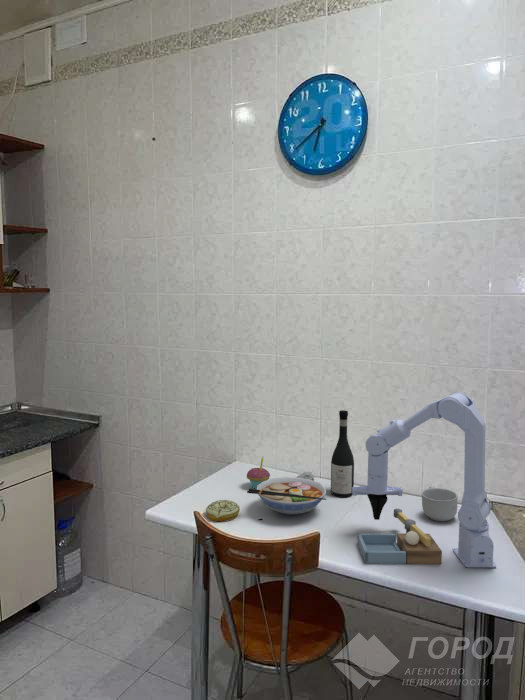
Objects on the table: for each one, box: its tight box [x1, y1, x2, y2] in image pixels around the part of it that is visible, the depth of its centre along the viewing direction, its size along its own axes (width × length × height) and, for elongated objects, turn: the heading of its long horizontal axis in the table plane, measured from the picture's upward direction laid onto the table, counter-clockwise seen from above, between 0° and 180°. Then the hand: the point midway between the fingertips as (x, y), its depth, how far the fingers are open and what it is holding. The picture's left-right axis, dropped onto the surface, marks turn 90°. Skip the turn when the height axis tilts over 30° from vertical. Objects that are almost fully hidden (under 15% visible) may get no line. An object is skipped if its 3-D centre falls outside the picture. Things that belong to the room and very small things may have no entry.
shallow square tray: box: [357, 533, 407, 565], centre depth 137 cm, size 11×11×3 cm
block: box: [396, 529, 443, 565], centre depth 138 cm, size 12×9×4 cm
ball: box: [405, 531, 419, 545], centre depth 135 cm, size 4×4×4 cm
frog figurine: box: [296, 471, 315, 481], centre depth 183 cm, size 6×7×7 cm
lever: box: [393, 508, 431, 546], centre depth 142 cm, size 20×3×2 cm, turn 10°
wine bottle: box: [330, 410, 355, 498], centre depth 179 cm, size 8×8×30 cm
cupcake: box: [246, 456, 271, 490], centre depth 185 cm, size 9×8×12 cm
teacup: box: [420, 485, 459, 522], centre depth 162 cm, size 14×11×8 cm
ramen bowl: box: [246, 476, 327, 516], centre depth 165 cm, size 25×23×8 cm
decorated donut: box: [205, 499, 241, 522], centre depth 161 cm, size 10×11×4 cm
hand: (376, 518), depth 150 cm, fingers closed
